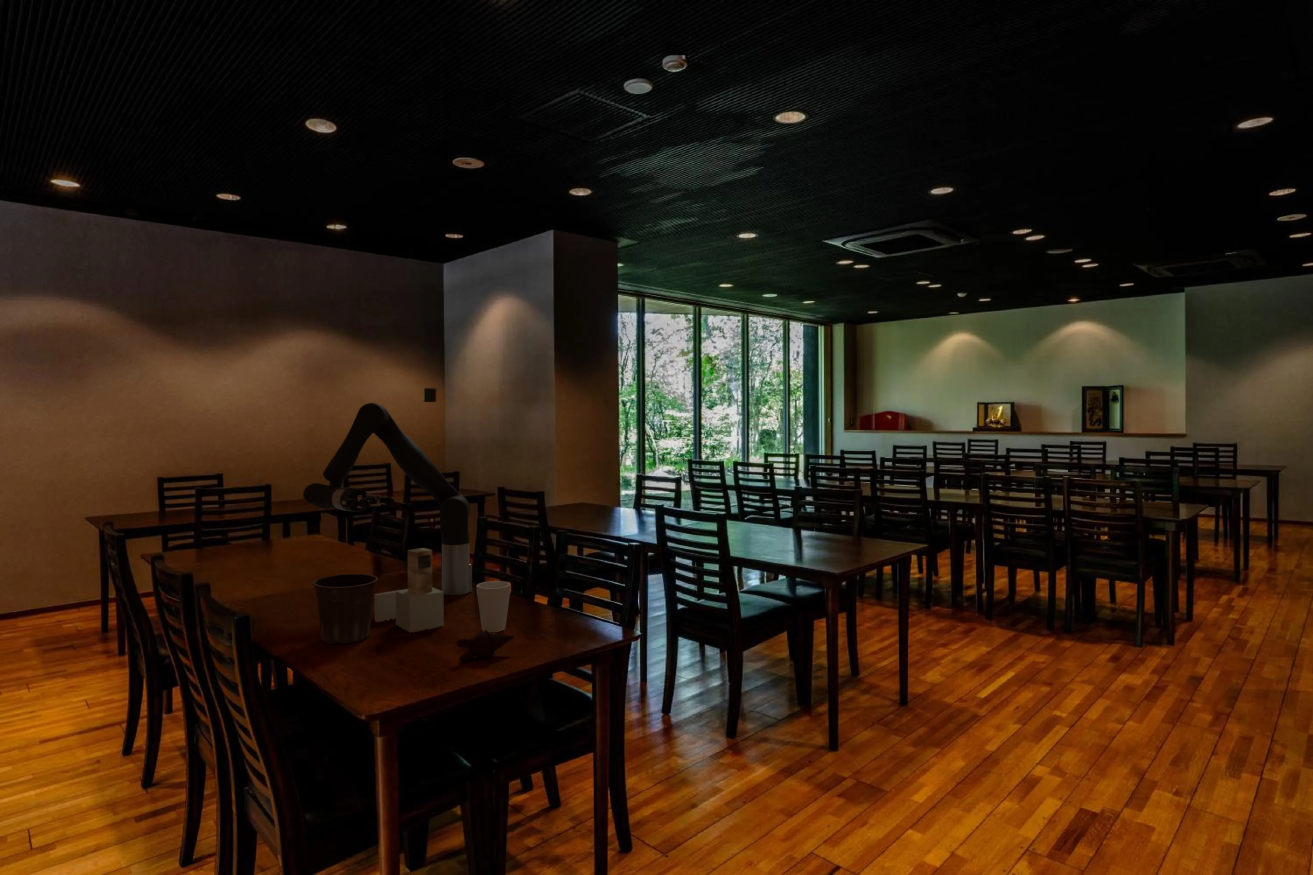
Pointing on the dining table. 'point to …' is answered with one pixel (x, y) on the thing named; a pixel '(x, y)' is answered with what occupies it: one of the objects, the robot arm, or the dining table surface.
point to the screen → (385, 606)
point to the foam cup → (493, 604)
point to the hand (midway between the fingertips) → (381, 502)
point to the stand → (419, 610)
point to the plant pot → (345, 607)
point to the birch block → (419, 570)
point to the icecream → (482, 645)
